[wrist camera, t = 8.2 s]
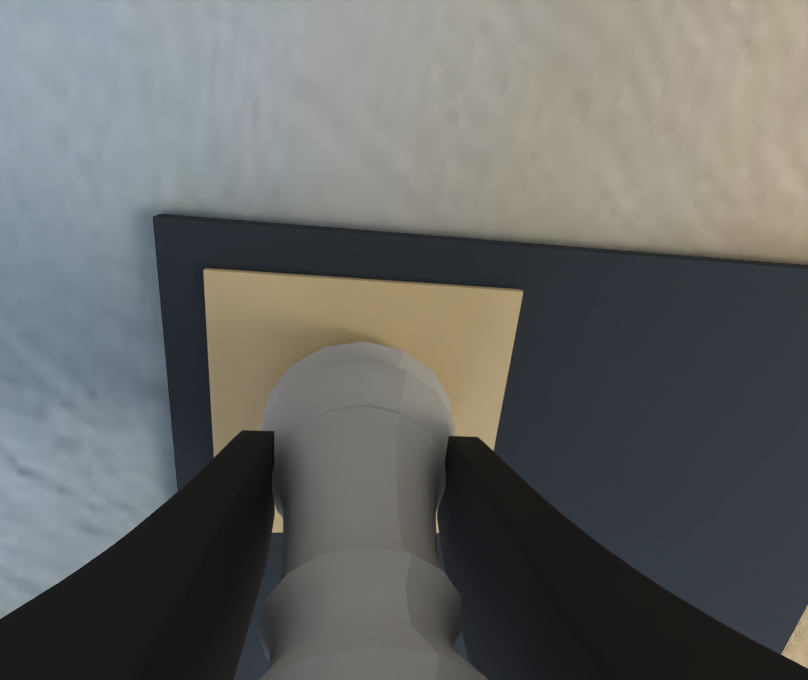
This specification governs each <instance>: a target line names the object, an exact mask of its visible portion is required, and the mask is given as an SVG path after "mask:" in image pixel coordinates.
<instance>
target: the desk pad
mask: <svg viewBox="0 0 808 680" xmlns="http://www.w3.org/2000/svg"><path fill="white" fill-rule="evenodd" d="M153 225H154V236H155V247H156V258H157V269H158V280H159V291H160V302H161V313H162V324H163V335H164V345H165V356H166V367H167V378H168V389H169V400H170V411H171V422H172V433H173V444H174V455H175V466H176V477H177V488H178V491H179V490H180V489H181V488H182V487H183V486H184V485H185V484H186V483H188V482H189V481H190V480H191V479H192V478H193V477H194V476H195V475H196V474H197V473H198V472H200V471H201V470H202V469H203V468H204V467H205V466H206V465H207V464H208V463H209V462H210V461H211V460H212V459H213V458H214V457H215V456H216V455H217V454H218V453H219V452H220V451H221V450H222V449H223V448H224V447H225V446H226V445H227V444H228V443H229V442H230V441H231V440H232V439H233V438H234V437H235V436H236V435H237V434H239V433H240V432H241V431H242V430H254V431H262V428H261V426H262V421H263V417H264V413H265V408H266V404H267V399H268V395H269V393H270V392H271V390H272V389H273V388H274V387H275V385H276V384H277V383H278V382H279V380H280V379H281V378H282V376H283V375H284V374H285V373H286V371H287V370H288V369H289V368H290V366H291V365H293V364H295V363H297V362H298V361H300V360H302V359H304V358H306V357H308V356H309V355H311V354H313V353H315V352H317V351H318V350H320V349H322V348H324V347H327V346H334V345H342V344H350V343H357V342H365V341H366V342H370V343H374V344H378V345H383V346H387V347H391V348H395V349H399V350H403V351H405V352H406V353H408V354H409V355H411V356H412V357H413V358H415V359H416V360H418V361H419V362H420V363H422V364H423V365H424V366H426V367H427V368H429V369H430V370H431V371H433V372H434V374H435V376H436V377H437V379H438V381H439V382H440V384H441V386H442V388H443V389H444V391H445V393H446V395H447V396H448V398H449V400H450V404H451V416H452V418H453V420H454V421H455V434H456V436H467V437H479V438H480V439H481V440H482V441H483V442H484V443H485V444H486V445H487V446H489V447H490V448H491V449H492V450H493V451H494V452H495V453H496V454H497V455H498V456H499V457H500V458H501V459H502V460H503V461H504V462H505V463H506V464H507V465H508V466H510V467H511V468H512V469H513V470H514V471H515V472H516V473H517V474H518V475H519V476H520V477H521V478H522V479H523V480H524V481H525V482H527V483H528V484H529V485H530V486H531V487H532V488H533V489H534V490H535V491H536V492H537V493H539V494H540V495H541V496H542V497H543V498H544V499H545V500H546V501H548V502H549V503H550V504H551V505H552V506H553V507H555V508H556V509H557V510H558V511H559V512H560V513H562V514H563V515H564V516H565V517H567V518H568V519H569V520H570V521H572V522H573V523H574V524H575V525H576V526H578V527H579V528H580V529H581V530H583V531H584V532H585V533H586V534H588V535H589V536H590V537H591V538H593V539H594V540H595V541H597V542H598V543H599V544H601V545H602V546H603V547H605V548H606V549H607V550H609V551H610V552H612V553H613V554H615V555H616V556H617V557H619V558H620V559H622V560H623V561H625V562H626V563H627V564H629V565H630V566H632V567H633V568H635V569H636V570H637V571H639V572H640V573H642V574H643V575H645V576H646V577H648V578H649V579H651V580H652V581H654V582H655V583H657V584H659V585H660V586H662V587H663V588H665V589H666V590H668V591H669V592H671V593H673V594H674V595H676V596H678V597H679V598H681V599H683V600H684V601H686V602H688V603H689V604H691V605H693V606H694V607H696V608H698V609H699V610H701V611H702V612H704V613H706V614H707V615H709V616H711V617H712V618H714V619H716V620H718V621H719V622H721V623H723V624H725V625H727V626H728V627H730V628H732V629H734V630H736V631H737V632H739V633H741V634H743V635H745V636H746V637H748V638H750V639H752V640H754V641H756V642H758V643H759V644H761V645H763V646H765V647H767V648H769V649H771V650H773V651H775V652H777V653H779V654H780V655H781V654H782V652H783V650H784V648H785V646H786V644H787V642H788V640H789V639H790V637H791V635H792V633H793V631H794V629H795V627H796V626H797V624H798V622H799V620H800V618H801V616H802V614H803V612H804V611H805V609H806V607H807V605H808V266H807V265H795V264H782V263H770V262H757V261H744V260H732V259H719V258H707V257H694V256H682V255H669V254H657V253H644V252H632V251H619V250H607V249H594V248H582V247H569V246H556V245H544V244H531V243H519V242H506V241H494V240H481V239H469V238H456V237H444V236H431V235H419V234H406V233H394V232H381V231H369V230H356V229H344V228H331V227H318V226H306V225H293V224H281V223H268V222H256V221H243V220H231V219H218V218H206V217H193V216H181V215H168V214H159V215H156V216H153ZM437 512H438V509H437ZM437 512H436V536H437V555H438V560H439V564H440V569H441V570H442V571H444V573H445V574H446V572H445V568H444V564H443V558H442V551H441V544H440V537H439V529H438V521H437ZM282 572H283V517H282V516H281V515H280V514H279V513H278V512H277V509H276V505H275V516H274V522H273V529H272V535H271V541H270V547H269V553H268V559H267V564H266V568H265V572H264V575H263V579H262V582H261V586H260V590H259V593H258V597H257V600H256V604H255V607H254V611H253V614H252V618H251V621H250V625H249V628H248V632H247V635H246V639H245V642H244V646H243V649H242V653H241V657H240V660H239V664H238V667H237V671H236V674H235V678H234V680H259V679H260V678H261V677H262V676H263V675H264V674H265V673H266V672H267V671H268V670H269V669H270V662H269V661H268V659H267V658H266V657H265V653H264V650H263V647H262V643H261V640H260V637H259V634H258V630H257V628H258V624H259V620H260V616H261V612H262V609H263V605H264V601H265V599H266V597H267V596H268V595H269V594H270V593H271V592H272V591H273V590H274V589H275V588H276V586H277V585H278V584H279V583H280V582H281V578H282ZM454 649H455V652H456V653H457V654H459V655H460V656H461V657H462V658H463V659H465V660H466V661H467V662H468V663H469V659H468V656H467V652H466V648H465V644H464V640H463V637H462V633H461V632H460V634H459V636H458V638H457V640H456V642H455V645H454ZM469 664H470V663H469Z"/></svg>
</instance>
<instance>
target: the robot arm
mask: <svg viewBox="0 0 808 680" xmlns="http://www.w3.org/2000/svg"><path fill="white" fill-rule="evenodd" d="M273 468H274V431H254V430H242V431H241V432H240V433H239V434H237V435H236V436H235V437H234V438H233V439H232V440H231V441H230V442H229V443H228V444H227V445H226V446H225V447H224V448H223V449H222V450H221V451H220V452H219V453H218V454H217V455H216V456H215V457H214V458H213V459H212V460H211V461H210V462H209V463H208V464H207V465H206V466H205V467H204V468H203V469H202V470H201V471H200V472H198V473H197V474H196V475H195V476H194V477H193V478H192V479H191V480H190V481H189V482H188V483H186V484H185V485H184V486H183V487H182V488H181V489H180V490H179V491H178V492H177V493H176V494H175V495H173V496H172V497H171V498H170V499H169V500H168V501H167V502H165V503H164V504H163V505H162V506H161V507H159V508H158V509H157V510H156V511H155V512H153V513H152V514H151V515H150V516H149V517H147V518H146V519H145V520H144V521H143V522H141V523H140V524H139V525H138V526H137V527H135V528H134V529H133V530H132V531H130V532H129V533H128V534H127V535H125V536H124V537H123V538H121V539H120V540H119V541H118V542H116V543H115V544H114V545H112V546H111V547H110V548H108V549H107V550H106V551H104V552H103V553H101V554H100V555H98V556H97V557H96V558H94V559H93V560H91V561H90V562H88V563H87V564H86V565H84V566H83V567H81V568H80V569H78V570H77V571H76V572H74V573H73V574H71V575H70V576H68V577H67V578H65V579H64V580H62V581H61V582H59V583H58V584H56V585H54V586H53V587H51V588H50V589H48V590H46V591H45V592H43V593H42V594H40V595H38V596H37V597H35V598H34V599H32V600H30V601H29V602H27V603H25V604H24V605H22V606H21V607H19V608H17V609H16V610H14V611H13V612H11V613H9V614H8V615H6V616H5V617H3V618H1V619H0V680H234V678H235V674H236V671H237V667H238V664H239V660H240V657H241V653H242V649H243V646H244V642H245V639H246V635H247V632H248V628H249V625H250V621H251V618H252V614H253V611H254V607H255V604H256V600H257V597H258V593H259V590H260V586H261V582H262V579H263V575H264V572H265V568H266V564H267V559H268V553H269V547H270V541H271V535H272V529H273V522H274V516H275V501H274V497H273V493H272V472H273ZM445 471H446V486H445V491H444V494H443V497H442V499H441V502H440V504H439V507H438V512H437V521H438V529H439V537H440V544H441V551H442V558H443V564H444V568H445V572H446V575H447V577H448V578H449V580H450V581H451V582H452V584H453V585H454V587H455V588H456V590H457V591H458V592H459V594H460V595H461V598H462V611H463V624H464V625H463V627H462V629H461V633H462V637H463V640H464V644H465V648H466V652H467V656H468V659H469V663H470V664H471V665H472V666H473V667H474V668H475V669H477V670H478V671H479V672H480V673H481V674H483V675H484V676H485V677H486V678H487V679H488V680H808V669H807V668H805V667H803V666H801V665H800V664H798V663H796V662H794V661H792V660H790V659H788V658H786V657H784V656H782V655H780V654H779V653H777V652H775V651H773V650H771V649H769V648H767V647H765V646H763V645H761V644H759V643H758V642H756V641H754V640H752V639H750V638H748V637H746V636H745V635H743V634H741V633H739V632H737V631H736V630H734V629H732V628H730V627H728V626H727V625H725V624H723V623H721V622H719V621H718V620H716V619H714V618H712V617H711V616H709V615H707V614H706V613H704V612H702V611H701V610H699V609H698V608H696V607H694V606H693V605H691V604H689V603H688V602H686V601H684V600H683V599H681V598H679V597H678V596H676V595H674V594H673V593H671V592H669V591H668V590H666V589H665V588H663V587H662V586H660V585H659V584H657V583H655V582H654V581H652V580H651V579H649V578H648V577H646V576H645V575H643V574H642V573H640V572H639V571H637V570H636V569H635V568H633V567H632V566H630V565H629V564H627V563H626V562H625V561H623V560H622V559H620V558H619V557H617V556H616V555H615V554H613V553H612V552H610V551H609V550H607V549H606V548H605V547H603V546H602V545H601V544H599V543H598V542H597V541H595V540H594V539H593V538H591V537H590V536H589V535H588V534H586V533H585V532H584V531H583V530H581V529H580V528H579V527H578V526H576V525H575V524H574V523H573V522H572V521H570V520H569V519H568V518H567V517H565V516H564V515H563V514H562V513H560V512H559V511H558V510H557V509H556V508H555V507H553V506H552V505H551V504H550V503H549V502H548V501H546V500H545V499H544V498H543V497H542V496H541V495H540V494H539V493H537V492H536V491H535V490H534V489H533V488H532V487H531V486H530V485H529V484H528V483H527V482H525V481H524V480H523V479H522V478H521V477H520V476H519V475H518V474H517V473H516V472H515V471H514V470H513V469H512V468H511V467H510V466H508V465H507V464H506V463H505V462H504V461H503V460H502V459H501V458H500V457H499V456H498V455H497V454H496V453H495V452H494V451H493V450H492V449H491V448H490V447H489V446H487V445H486V444H485V443H484V442H483V441H482V440H481V439H480V438H479V437H467V436H449V437H448V444H447V451H446V457H445Z"/></svg>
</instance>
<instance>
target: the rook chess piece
mask: <svg viewBox="0 0 808 680" xmlns="http://www.w3.org/2000/svg"><path fill="white" fill-rule="evenodd" d="M261 428H262V431H274V468H273V472H272V493H273V497H274V501H275V505H276V509H277V512H278V513H279V514H280V515H281V516H282V517H283V572H282V578H281V582H280V583H279V584H278V585H277V586H276V588H275V589H274V590H273V591H272V592H271V593H270V594H269V595H268V596H267V597H266V599H265V601H264V605H263V609H262V612H261V616H260V620H259V624H258V628H257V630H258V634H259V637H260V640H261V643H262V647H263V650H264V653H265V657H266V658H267V659H268V661H269V662H270V669H269V670H268V671H267V672H266V673H265V674H264V675H263V676H262V677H261V678H260V679H259V680H488V679H487V678H486V677H485V676H484V675H483V674H481V673H480V672H479V671H478V670H477V669H475V668H474V667H473V666H472V665H471V664H469V663H468V662H467V661H466V660H465V659H463V658H462V657H461V656H460V655H459V654H457V653H456V652H455V649H454V645H455V642H456V640H457V638H458V636H459V634H460V632H461V629H462V627H463V625H464V624H463V611H462V598H461V595H460V594H459V592H458V591H457V590H456V588H455V587H454V585H453V584H452V582H451V581H450V580H449V578H448V577H447V575H446V574H445V573H444V571H442V570H441V569H440V564H439V560H438V555H437V536H436V512H437V509H438V507H439V504H440V502H441V499H442V497H443V494H444V491H445V486H446V471H445V457H446V451H447V444H448V437H449V436H456V434H455V421H454V420H453V418H452V416H451V404H450V400H449V398H448V396H447V395H446V393H445V391H444V389H443V388H442V386H441V384H440V382H439V381H438V379H437V377H436V376H435V374H434V372H433V371H431V370H430V369H429V368H427V367H426V366H424V365H423V364H422V363H420V362H419V361H418V360H416V359H415V358H413V357H412V356H411V355H409V354H408V353H406V352H405V351H403V350H399V349H395V348H391V347H387V346H383V345H378V344H374V343H370V342H366V341H365V342H357V343H350V344H342V345H334V346H327V347H324V348H322V349H320V350H318V351H317V352H315V353H313V354H311V355H309V356H308V357H306V358H304V359H302V360H300V361H298V362H297V363H295V364H293V365H291V366H290V368H289V369H288V370H287V371H286V373H285V374H284V375H283V376H282V378H281V379H280V380H279V382H278V383H277V384H276V385H275V387H274V388H273V389H272V390H271V392H270V393H269V395H268V399H267V404H266V408H265V413H264V417H263V421H262V426H261Z"/></svg>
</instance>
